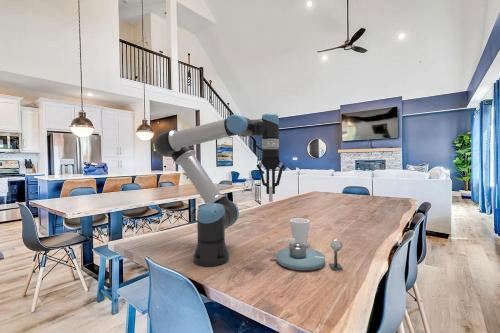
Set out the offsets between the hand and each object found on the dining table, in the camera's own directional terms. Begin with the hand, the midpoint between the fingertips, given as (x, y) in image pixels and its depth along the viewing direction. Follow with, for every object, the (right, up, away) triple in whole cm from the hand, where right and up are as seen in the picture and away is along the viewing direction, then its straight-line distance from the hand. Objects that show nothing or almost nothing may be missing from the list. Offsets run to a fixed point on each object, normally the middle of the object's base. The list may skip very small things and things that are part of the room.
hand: (270, 201), depth 117 cm
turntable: (+12, -25, -7) cm, 28 cm away
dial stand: (+25, -25, -14) cm, 38 cm away
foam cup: (+15, -24, +11) cm, 31 cm away
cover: (+11, -22, -8) cm, 26 cm away
